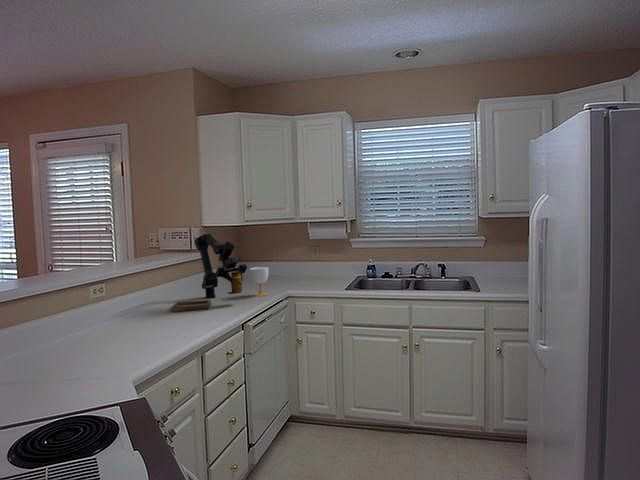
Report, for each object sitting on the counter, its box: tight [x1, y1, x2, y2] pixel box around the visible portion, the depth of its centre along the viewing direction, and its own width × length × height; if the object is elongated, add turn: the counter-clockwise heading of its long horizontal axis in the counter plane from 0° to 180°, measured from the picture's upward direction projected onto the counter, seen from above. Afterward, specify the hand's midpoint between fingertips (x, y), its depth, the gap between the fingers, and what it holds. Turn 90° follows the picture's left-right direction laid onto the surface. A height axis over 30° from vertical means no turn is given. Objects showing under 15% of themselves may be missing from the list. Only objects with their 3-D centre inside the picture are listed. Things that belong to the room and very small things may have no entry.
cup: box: [249, 266, 269, 297], centre depth 297 cm, size 12×12×17 cm
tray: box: [170, 299, 212, 313], centre depth 267 cm, size 16×20×2 cm
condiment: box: [226, 272, 245, 295], centre depth 271 cm, size 7×8×12 cm
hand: (237, 281), depth 270 cm, fingers closed on condiment, 6 cm apart
